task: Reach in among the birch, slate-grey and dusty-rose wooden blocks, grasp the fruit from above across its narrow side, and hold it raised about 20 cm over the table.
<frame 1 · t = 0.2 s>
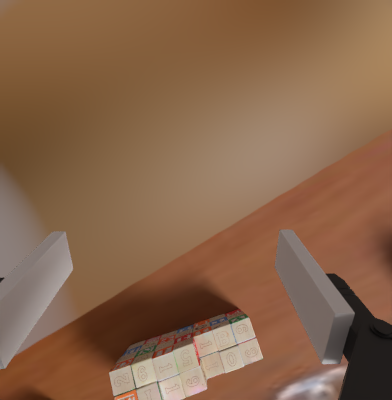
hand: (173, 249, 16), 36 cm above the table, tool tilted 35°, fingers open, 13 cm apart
stack of blocks: (190, 343, 48), on the table
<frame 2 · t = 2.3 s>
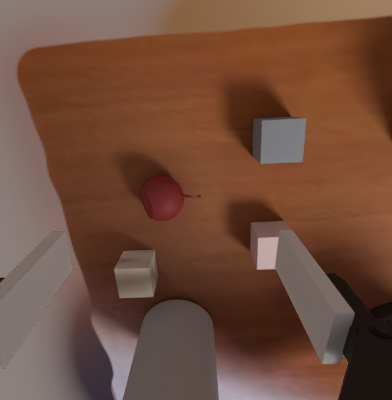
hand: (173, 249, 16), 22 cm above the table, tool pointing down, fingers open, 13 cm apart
cylinder vase: (178, 324, 46), on the table
birch block: (141, 263, 42), on the table
fruit: (172, 190, 38), on the table
dusty rose block: (266, 236, 40), on the table
slate grey block: (271, 136, 35), on the table
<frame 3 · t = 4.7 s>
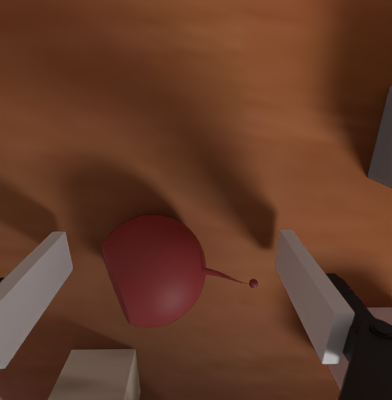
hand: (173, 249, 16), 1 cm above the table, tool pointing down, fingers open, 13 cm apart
birch block: (108, 370, 21), on the table
fruit: (176, 241, 17), on the table
dusty rose block: (359, 331, 20), on the table
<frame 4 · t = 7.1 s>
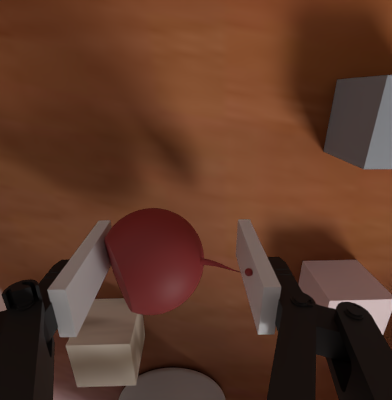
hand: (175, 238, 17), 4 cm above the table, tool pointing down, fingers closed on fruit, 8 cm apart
cylinder vase: (172, 397, 31), on the table
birch block: (118, 317, 26), on the table
fruit: (176, 235, 18), point 4 cm above the table, touching gripper
dusty rose block: (324, 281, 25), on the table
slate grey block: (363, 117, 19), on the table
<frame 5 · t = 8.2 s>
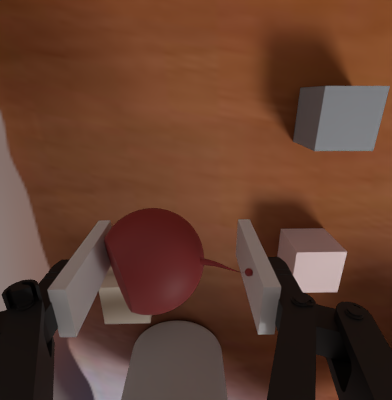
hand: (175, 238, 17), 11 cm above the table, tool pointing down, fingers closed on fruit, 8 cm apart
cylinder vase: (177, 349, 37), on the table
birch block: (134, 275, 32), on the table
fruit: (176, 235, 18), point 11 cm above the table, touching gripper
dusty rose block: (299, 246, 31), on the table
slate grey block: (321, 115, 26), on the table
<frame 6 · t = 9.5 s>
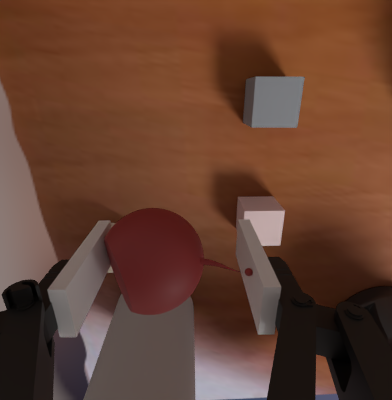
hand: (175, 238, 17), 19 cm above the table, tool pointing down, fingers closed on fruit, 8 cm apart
cylinder vase: (156, 304, 44), on the table
fruit: (175, 234, 18), point 18 cm above the table, touching gripper
dusty rose block: (254, 212, 38), on the table
slate grey block: (264, 101, 32), on the table
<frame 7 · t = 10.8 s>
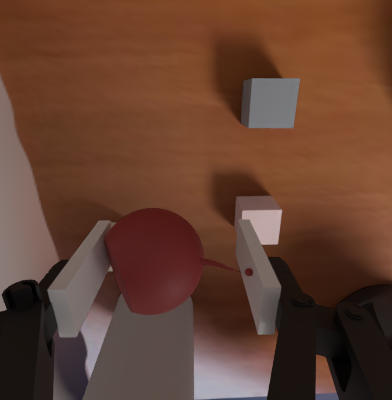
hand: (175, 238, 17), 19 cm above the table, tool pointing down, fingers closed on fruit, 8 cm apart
cylinder vase: (156, 302, 44), on the table
fruit: (175, 235, 18), point 19 cm above the table, touching gripper
dusty rose block: (252, 211, 38), on the table
slate grey block: (261, 102, 33), on the table
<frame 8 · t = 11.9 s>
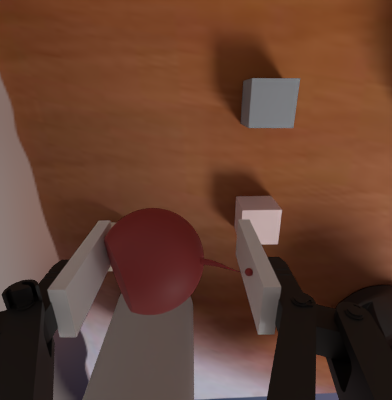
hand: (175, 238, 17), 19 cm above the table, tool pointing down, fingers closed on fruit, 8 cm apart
cylinder vase: (156, 302, 44), on the table
fruit: (175, 235, 18), point 19 cm above the table, touching gripper
dusty rose block: (252, 211, 38), on the table
slate grey block: (261, 102, 33), on the table
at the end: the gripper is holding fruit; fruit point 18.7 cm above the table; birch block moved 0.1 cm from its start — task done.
